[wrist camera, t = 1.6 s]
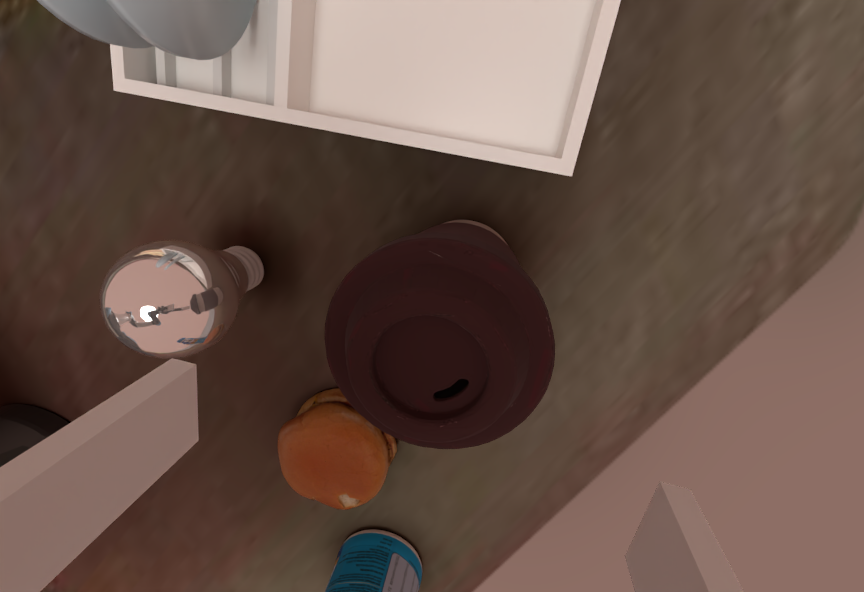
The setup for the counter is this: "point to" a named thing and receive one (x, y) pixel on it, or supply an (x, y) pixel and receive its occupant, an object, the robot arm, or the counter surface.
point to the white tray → (405, 73)
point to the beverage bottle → (376, 564)
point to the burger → (334, 452)
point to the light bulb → (176, 296)
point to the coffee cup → (441, 337)
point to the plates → (159, 23)
